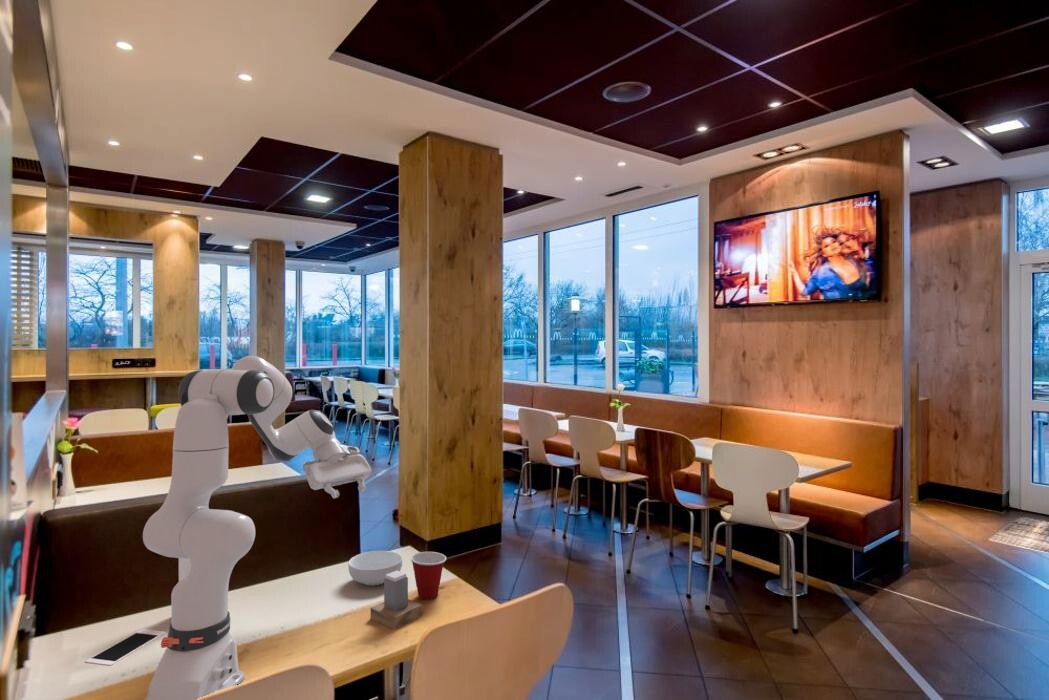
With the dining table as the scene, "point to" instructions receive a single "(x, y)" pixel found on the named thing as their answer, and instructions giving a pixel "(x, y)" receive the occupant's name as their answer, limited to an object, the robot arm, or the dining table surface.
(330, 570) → the dining table surface
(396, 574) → the salt shaker
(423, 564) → the plastic cup
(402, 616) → the base block
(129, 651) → the cell phone
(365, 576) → the cereal bowl
